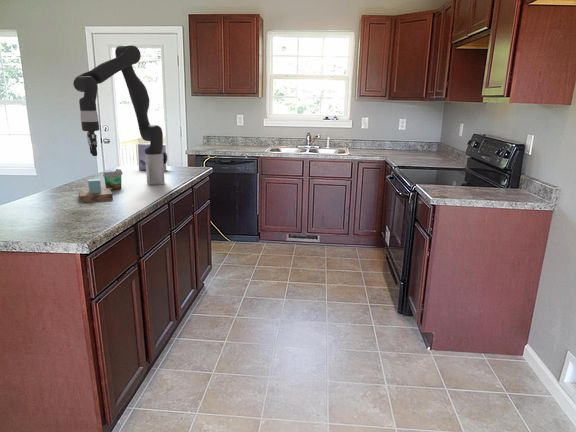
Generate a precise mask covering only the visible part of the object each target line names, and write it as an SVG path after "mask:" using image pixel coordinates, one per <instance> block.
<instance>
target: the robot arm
mask: <svg viewBox="0 0 576 432" xmlns="http://www.w3.org/2000/svg"><path fill="white" fill-rule="evenodd" d="M114 52H115V53H114V55H115V57H114V58H111V59H109V60H107V61H104V62H102V63H101V62H100V63H99V64H98V65H97V66H95V67H94V68H92V69H91V70H88V71H86V72H84V73H83V72H82V74H79V75H77V76H76V77H75V78H74V79H73V84H72V85H73V88H74V89H75V90H76V91H77V92H80V93H83V96H82V97H81V98H79V102H78V103H79V110H80V114H79V115H80V122H81V124H80V125H81V130H82V131H83V132H86V138H87V143H88V147H89V153H90V154H91V155H92V157H98V150H97V148H98V140H97V134H96V133H95V132H98V131H100V123H99V115H98V110H97V104H96V101H97V95H98V89H99V88H98V84H103V83H104V82H106V81H107V80H108V79H110V78H111V77H113V76H115V75H116V74H117V73H119V72H121V73H122V76H123V79H124V81H125V84H126V87H127V91H128V93H129V94H128V95H129V97H130V101H131V103H132V106H133V110H134V112H135V116H136V120H137V125H138V131H139V133H140V137H141V138H142V140H143V141H146V142H150V143H149V144H150V146H149V147H148V148H146V149H145V161H146V170H145V172H146V175H145V176H146V184H147V185H151V186H159V185H164V184H165V171H164V167H163V163H162V149H163V145H164V136H163V135H164V134H163V129H162V127H161V126H160V125H158V124H157V125H156V124H151V123H150V120H149V117H148V111H149V109H150V108H149V107H150V100H151V99H150V97H149V94H148V89H147V87H146V86H145V84H144V82H143V81H142V80H141V79H140V78H139V76H138V75H137V74H136V72H135V70H134V67H133V65H135V64H138V63H139V62H140V60H141V51H140V49H139V48H138V47H137V46H136V45H133V44H125V45H123V44H122V45H121V44H120V45H118V46H116V47H115V51H114Z"/></svg>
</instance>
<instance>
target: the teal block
mask: <svg viewBox="0 0 576 432" xmlns="http://www.w3.org/2000/svg"><path fill="white" fill-rule="evenodd" d="M87 185H88V190H89V192H90V194H92V193H101V189H102V188H101V187H102V186H101V179H100V178H93V179H91V178H90V179H88V178H87Z"/></svg>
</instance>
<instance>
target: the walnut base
mask: <svg viewBox="0 0 576 432" xmlns="http://www.w3.org/2000/svg"><path fill="white" fill-rule="evenodd" d="M113 195H114V194H113V191H110V189H109V188H107V189H106V188H101V193H92V194H90V192H89V189H82V190H81V189H80V190H78V198H79V202H80V203H91V202H92V203H93V202H106V201H114V198H113V197H114V196H113Z"/></svg>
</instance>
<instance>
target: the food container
mask: <svg viewBox="0 0 576 432" xmlns="http://www.w3.org/2000/svg"><path fill="white" fill-rule="evenodd" d="M122 175H124V174H123V171H122V169H118V168H117V169H115V170H113V171H109V172H105V171H104V172H103V175H102V177H103V178H104V184H105V189H107V188H109V189H110V191H111V192H113V191H120V190H122Z"/></svg>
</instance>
